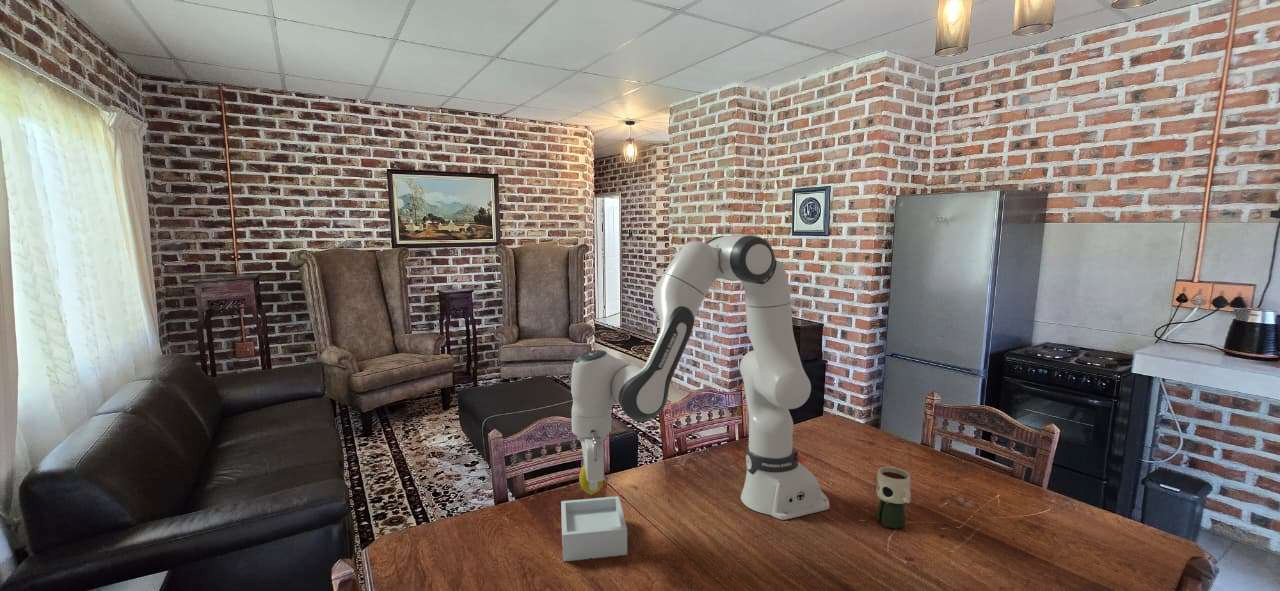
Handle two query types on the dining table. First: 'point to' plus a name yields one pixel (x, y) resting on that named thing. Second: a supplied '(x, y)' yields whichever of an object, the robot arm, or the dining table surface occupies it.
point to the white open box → (593, 528)
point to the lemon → (585, 483)
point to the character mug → (892, 495)
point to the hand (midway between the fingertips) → (591, 481)
